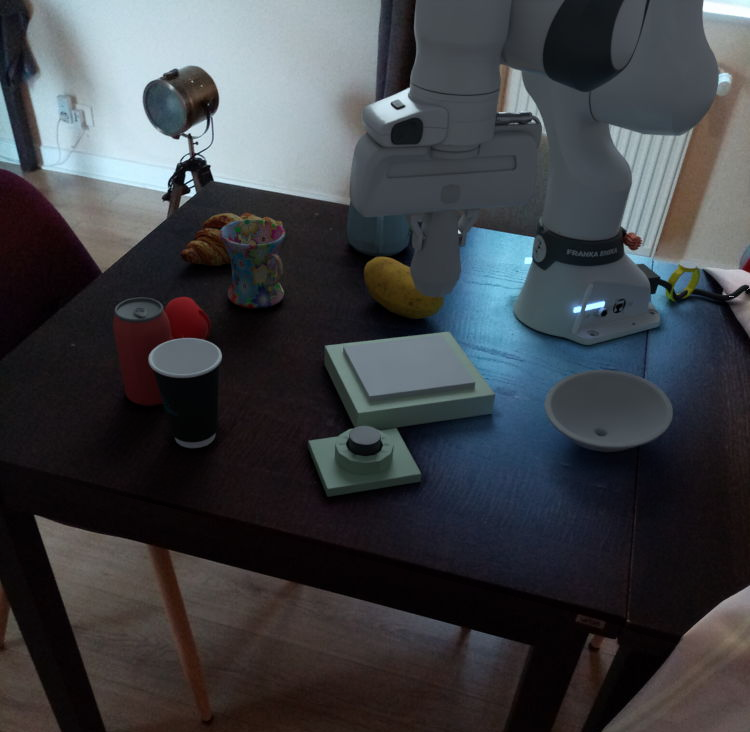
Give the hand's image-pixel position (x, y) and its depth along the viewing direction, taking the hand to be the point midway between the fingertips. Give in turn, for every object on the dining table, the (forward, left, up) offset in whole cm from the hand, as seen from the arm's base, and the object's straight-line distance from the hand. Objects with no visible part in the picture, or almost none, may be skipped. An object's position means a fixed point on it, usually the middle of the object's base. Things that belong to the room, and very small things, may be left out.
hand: (438, 247), depth 88 cm
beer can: (+33, -9, -21) cm, 40 cm away
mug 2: (-8, -44, -21) cm, 50 cm away
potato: (-5, -23, -21) cm, 32 cm away
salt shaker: (0, 0, -5) cm, 5 cm away
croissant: (+16, -48, -21) cm, 55 cm away
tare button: (+11, +11, -18) cm, 24 cm away
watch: (-51, -18, -21) cm, 58 cm away
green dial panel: (+11, +11, -21) cm, 26 cm away
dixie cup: (+29, +1, -21) cm, 36 cm away
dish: (-19, +13, -21) cm, 31 cm away
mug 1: (+15, -30, -21) cm, 40 cm away
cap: (+27, -21, -21) cm, 40 cm away
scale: (+1, -3, -21) cm, 21 cm away
